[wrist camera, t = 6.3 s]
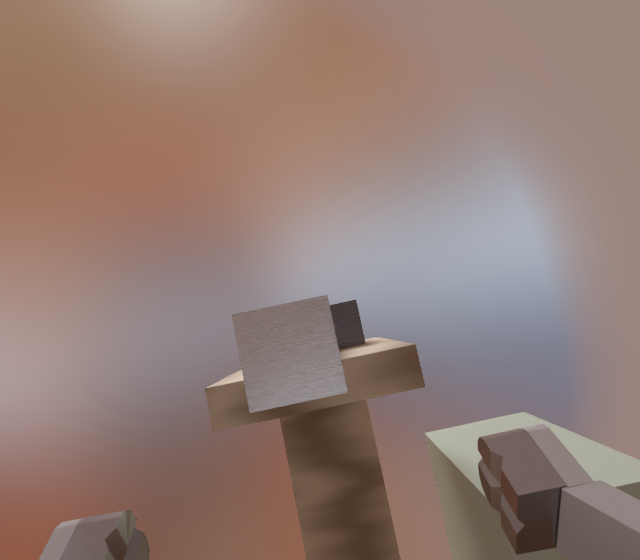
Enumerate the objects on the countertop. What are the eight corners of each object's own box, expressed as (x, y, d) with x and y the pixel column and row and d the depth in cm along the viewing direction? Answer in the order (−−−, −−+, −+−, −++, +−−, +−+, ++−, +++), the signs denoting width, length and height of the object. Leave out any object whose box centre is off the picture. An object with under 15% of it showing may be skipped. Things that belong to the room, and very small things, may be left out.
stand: (308, 989, 17) (205, 388, 19) (315, 688, 31) (254, 362, 33) (551, 932, 17) (415, 344, 20) (448, 659, 31) (376, 337, 33)
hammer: (155, 433, 10) (135, 310, 10) (270, 360, 32) (262, 321, 32) (441, 372, 10) (412, 252, 10) (360, 341, 32) (351, 303, 32)
